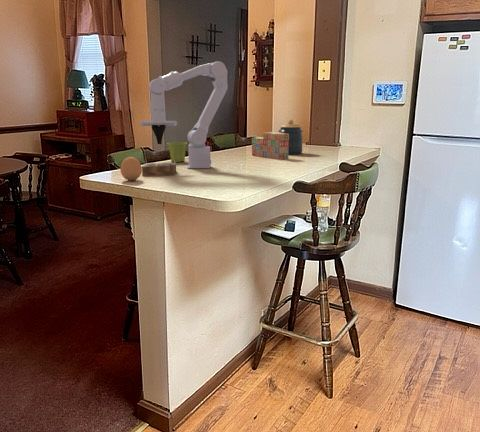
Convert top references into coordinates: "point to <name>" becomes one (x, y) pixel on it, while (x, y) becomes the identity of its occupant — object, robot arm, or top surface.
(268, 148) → the stack of blocks
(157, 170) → the socket block
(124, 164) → the egg
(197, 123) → the robot arm
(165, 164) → the peg
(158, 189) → the top surface
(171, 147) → the plant pot
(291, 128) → the canister
